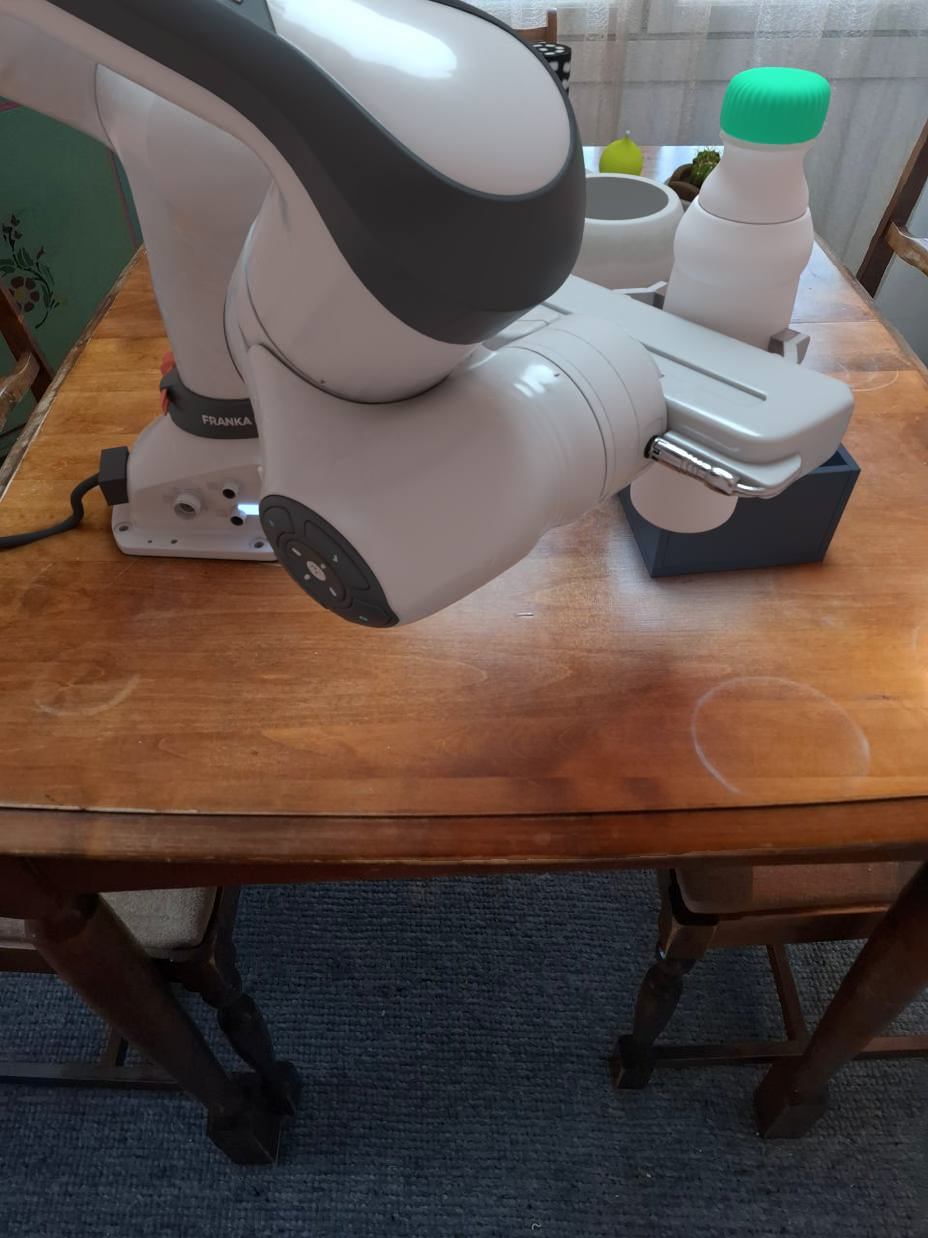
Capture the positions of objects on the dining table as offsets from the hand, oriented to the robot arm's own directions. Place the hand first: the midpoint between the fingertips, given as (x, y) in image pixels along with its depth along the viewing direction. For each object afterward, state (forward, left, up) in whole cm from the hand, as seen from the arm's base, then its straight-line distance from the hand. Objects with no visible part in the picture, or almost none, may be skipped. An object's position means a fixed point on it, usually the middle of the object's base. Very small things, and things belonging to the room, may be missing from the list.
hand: (730, 319), depth 46 cm
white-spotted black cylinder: (+7, +97, -27) cm, 101 cm away
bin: (+9, +14, -27) cm, 32 cm away
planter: (+1, +32, -27) cm, 42 cm away
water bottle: (-1, -1, -13) cm, 13 cm away
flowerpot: (+25, +66, -27) cm, 76 cm away
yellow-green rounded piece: (+21, +98, -27) cm, 104 cm away
